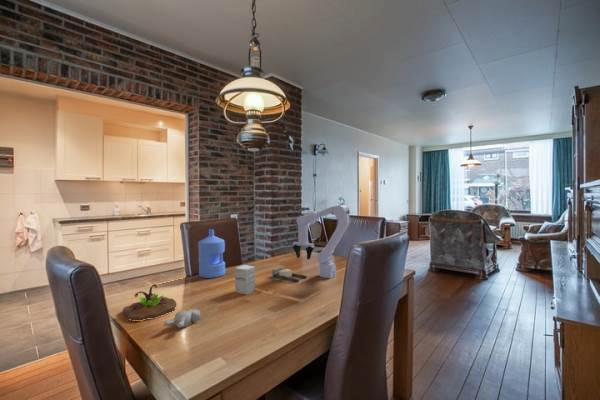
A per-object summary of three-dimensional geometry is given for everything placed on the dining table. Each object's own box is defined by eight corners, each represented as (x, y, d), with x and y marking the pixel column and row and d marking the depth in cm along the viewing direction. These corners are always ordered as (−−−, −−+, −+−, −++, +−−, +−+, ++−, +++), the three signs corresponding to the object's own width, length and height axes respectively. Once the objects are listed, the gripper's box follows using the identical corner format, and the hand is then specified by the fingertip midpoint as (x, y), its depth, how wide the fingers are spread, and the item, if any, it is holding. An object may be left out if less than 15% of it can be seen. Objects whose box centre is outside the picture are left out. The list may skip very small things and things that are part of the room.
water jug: (193, 277, 170) (192, 230, 169) (209, 270, 185) (208, 227, 184) (216, 279, 166) (215, 231, 165) (230, 272, 181) (229, 228, 180)
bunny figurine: (206, 307, 115) (183, 319, 101) (205, 320, 115) (183, 334, 100) (185, 305, 117) (160, 317, 103) (185, 318, 117) (159, 331, 102)
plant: (183, 310, 123) (183, 285, 123) (133, 326, 109) (132, 297, 109) (166, 299, 137) (165, 275, 137) (119, 311, 123) (118, 286, 123)
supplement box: (235, 292, 143) (234, 267, 142) (244, 288, 149) (243, 264, 149) (246, 295, 139) (246, 269, 139) (255, 290, 146) (255, 265, 146)
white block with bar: (291, 275, 165) (291, 269, 165) (280, 280, 157) (280, 274, 157) (285, 274, 168) (285, 268, 168) (273, 279, 160) (273, 272, 160)
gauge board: (310, 280, 160) (310, 271, 160) (296, 287, 150) (296, 277, 149) (280, 274, 173) (280, 266, 173) (266, 280, 162) (265, 271, 162)
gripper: (316, 235, 170) (317, 258, 171) (297, 234, 179) (297, 255, 179) (310, 237, 165) (310, 260, 165) (290, 235, 173) (290, 257, 174)
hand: (303, 258), depth 172 cm, fingers open, 7 cm apart
